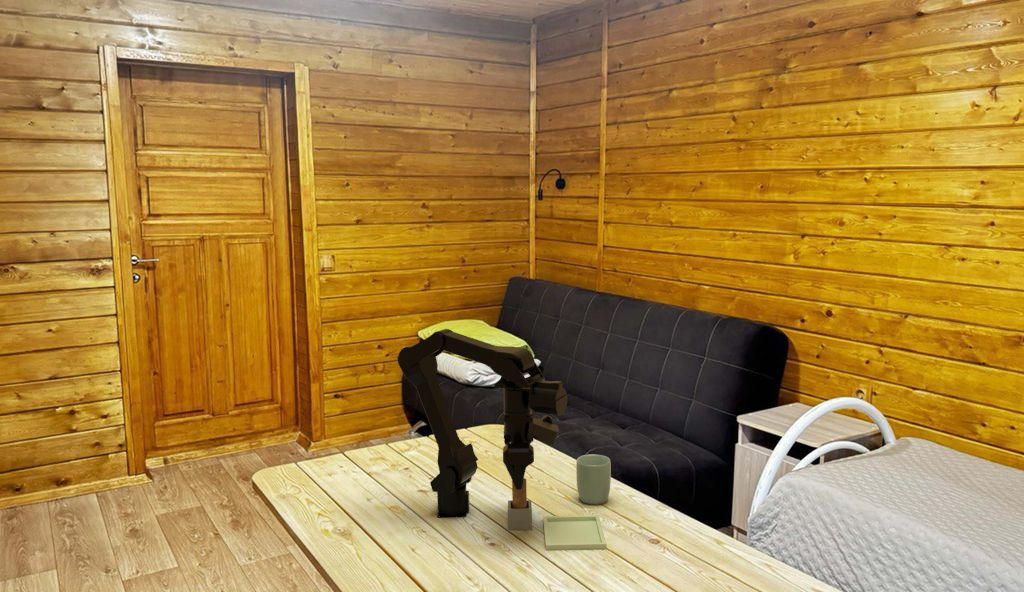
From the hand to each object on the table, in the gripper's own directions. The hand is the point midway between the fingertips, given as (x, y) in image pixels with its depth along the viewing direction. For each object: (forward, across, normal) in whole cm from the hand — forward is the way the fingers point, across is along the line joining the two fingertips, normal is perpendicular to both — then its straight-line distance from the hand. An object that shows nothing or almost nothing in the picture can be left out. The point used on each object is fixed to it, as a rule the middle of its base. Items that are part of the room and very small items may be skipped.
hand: (518, 481), depth 167 cm
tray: (+10, -5, -11) cm, 16 cm away
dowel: (+10, 0, 0) cm, 10 cm away
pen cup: (+10, 0, 0) cm, 10 cm away
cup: (+10, +13, -17) cm, 24 cm away
